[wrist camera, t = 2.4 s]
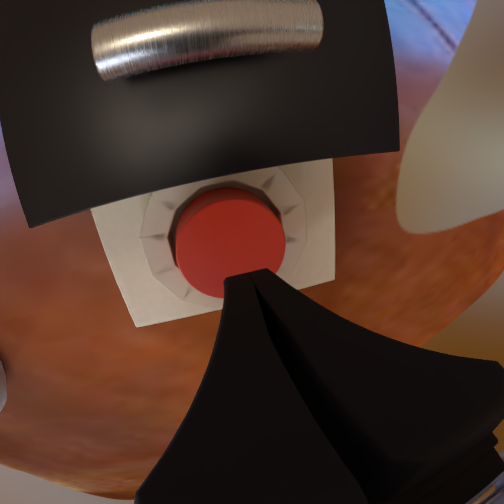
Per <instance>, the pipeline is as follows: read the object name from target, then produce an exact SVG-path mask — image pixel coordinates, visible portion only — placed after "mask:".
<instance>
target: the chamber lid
mask: <svg viewBox="0 0 504 504" xmlns="http://www.w3.org/2000/svg"><path fill="white" fill-rule="evenodd" d="M0 122H1V127H2V133H3V138H4V142H5V147H6V151H7V156H8V160H9V164H10V168H11V172H12V175H13V179H14V182H15V186H16V189H17V193H18V196H19V199H20V202H21V205H22V208H23V211H24V214H25V217H26V220H27V223H28V225H29V228H33V227H36V226H38V225H41V224H44V223H47V222H50V221H53V220H56V219H60V218H63V217H66V216H69V215H72V214H75V213H79V212H82V211H85V210H89V209H92V208H95V207H99V206H102V205H106V204H109V203H113V202H117V201H120V200H124V199H128V198H131V197H135V196H139V195H143V194H147V193H151V192H155V191H159V190H163V189H167V188H171V187H176V186H180V185H184V184H189V183H193V182H198V181H203V180H207V179H212V178H217V177H222V176H227V175H232V174H237V173H242V172H248V171H253V170H259V169H265V168H270V167H276V166H282V165H289V164H295V163H302V162H309V161H316V160H323V159H331V158H339V157H347V156H355V155H365V154H374V153H385V152H396V151H399V150H400V140H399V113H398V97H397V85H396V74H395V65H394V57H393V49H392V42H391V36H390V29H389V24H388V18H387V13H386V8H385V3H384V0H0Z"/></svg>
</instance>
